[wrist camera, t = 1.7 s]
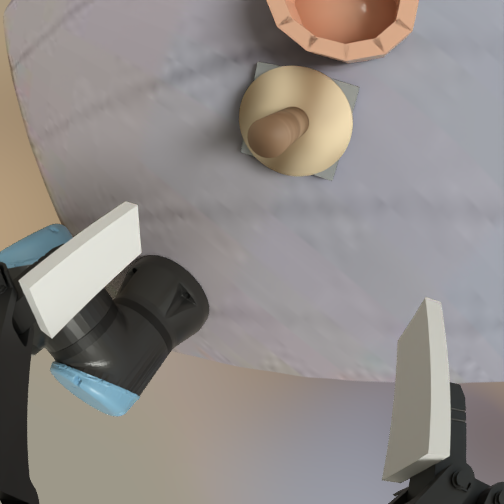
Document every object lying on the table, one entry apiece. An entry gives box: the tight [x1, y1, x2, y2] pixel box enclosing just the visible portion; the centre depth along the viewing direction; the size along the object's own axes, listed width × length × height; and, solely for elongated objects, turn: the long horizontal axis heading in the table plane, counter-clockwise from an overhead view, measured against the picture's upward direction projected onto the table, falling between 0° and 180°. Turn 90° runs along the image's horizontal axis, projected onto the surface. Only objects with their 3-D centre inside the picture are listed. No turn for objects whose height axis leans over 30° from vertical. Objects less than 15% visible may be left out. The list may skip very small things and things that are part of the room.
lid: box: [239, 66, 353, 176], centre depth 25 cm, size 11×11×9 cm
